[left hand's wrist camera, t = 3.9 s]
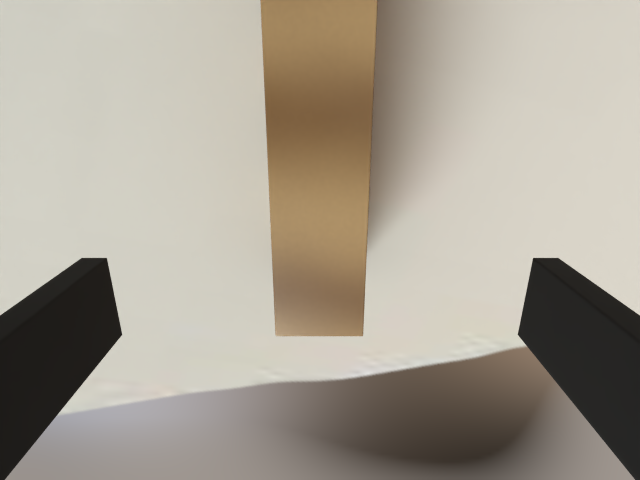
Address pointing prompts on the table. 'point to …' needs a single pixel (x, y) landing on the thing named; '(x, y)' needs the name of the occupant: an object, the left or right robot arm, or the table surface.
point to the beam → (319, 159)
